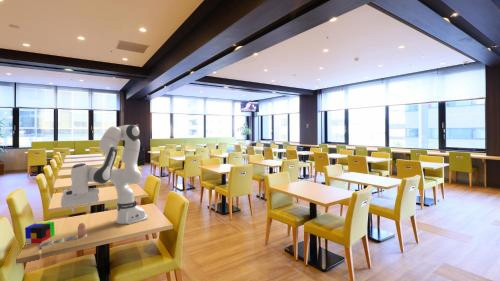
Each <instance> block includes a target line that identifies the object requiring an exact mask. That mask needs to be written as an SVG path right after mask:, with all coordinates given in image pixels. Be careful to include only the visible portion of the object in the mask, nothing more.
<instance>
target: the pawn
mask: <svg viewBox="0 0 500 281" xmlns="http://www.w3.org/2000/svg"><path fill="white" fill-rule="evenodd" d="M85 234H86V225H85V223H84V222H81V223H79V224H78V225H77V235H78V237H83V238H85V237H84V236H85Z"/></svg>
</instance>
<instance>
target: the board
mask: <svg viewBox="0 0 500 281" xmlns="http://www.w3.org/2000/svg"><path fill="white" fill-rule="evenodd" d="M86 237H87V238H88V234H87V233H85V236H84V237H78V234H77V235H74V236H69V237H65V238H60V239H56V240H51V241H44V242H42V243H40V244H37V245H38V249H37V250H38V251H41V250H42V249H43V247H47V246H51V245H56V244H61V243H64V242H68V241H73V240H78V239H83V238H86Z"/></svg>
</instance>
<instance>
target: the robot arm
mask: <svg viewBox="0 0 500 281" xmlns="http://www.w3.org/2000/svg"><path fill="white" fill-rule="evenodd" d="M140 135H141V129H140V127H139V126H138V125H135V124H125V125H119V126H110V127H108V129H107V130H106V131H105V132H104V134H103V135H102V137H101V138H100V141H99V143H98V146H99V149H100V151H101V152H103V153H104V154H105V158H104V160H103V164H102V165H101V166H100V167H95V166H90V165H87V163H82V162H81V163H77V164H74V165H73V166H72V167H71V169H70V180H71V185H70V187H69V188H67V189H64V190H62V195H61V198H60V207H61V208H66V207H67V208H68V207H69V209H71V213H72V214H75V213H76V210H75V209H74V208H73V207H75V206H80V205H81V206H82V205H87V207H85V208H86V209H85V210H86V211H90V207H91V206H92V204H93V203H98V202H99V200H100V197H99V196H100V195H99V194H100V191H99V190H100V189H99V188H97V187H90V188H89V183H97V184H101V185H104V184H106V183H107V182H108V181H110V183H112V184H113V186H114V188H115V189H116V194H117V195H116V196H117V203H116V210H117V213H116V214H117V215H116V220H115V223H116V224H119V225H120V224H121V225H123V224H124V225H131V224H134V223H138V222H142V221H145V220H148V219H149V214H147V213H146V211H145V209H144V208H142V207H141V206H139V201H136V200H135V190H133V188H132V187H130V185H133V184H134V185H135V184H140V182H141V180H142V178H143V175H142V174H143V173H142V172H141V171H140V169H139V168H138V167H139V166H138V160H139V159H138V158H139V153H140V150H141V149H140V148H141V141H140ZM120 141H124V147H123V151H122V155H121V158H120V160H121V162H122V163H123V164H124V168H114V169H113V167H114V164H115V161H116V158H117V155H118V149H117V148H118V145H119V143H120Z"/></svg>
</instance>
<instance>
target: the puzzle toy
mask: <svg viewBox="0 0 500 281" xmlns="http://www.w3.org/2000/svg"><path fill="white" fill-rule="evenodd" d="M24 236H25V244H26V243H29V244H28V245H39V244H40V243H44V242H46V241H47V240H48V239H50V238H53V237H54V236H55V221H37V222H35V223H33V224H30V225H28V226H25V228H24Z"/></svg>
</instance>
